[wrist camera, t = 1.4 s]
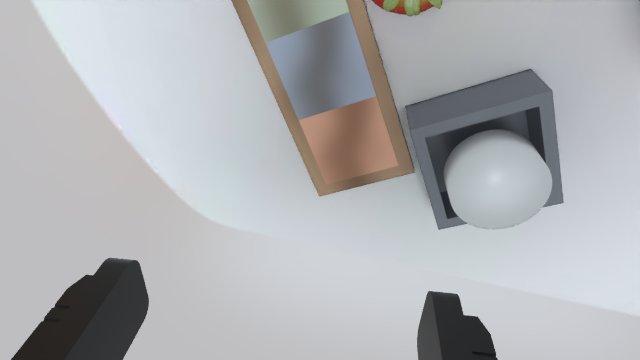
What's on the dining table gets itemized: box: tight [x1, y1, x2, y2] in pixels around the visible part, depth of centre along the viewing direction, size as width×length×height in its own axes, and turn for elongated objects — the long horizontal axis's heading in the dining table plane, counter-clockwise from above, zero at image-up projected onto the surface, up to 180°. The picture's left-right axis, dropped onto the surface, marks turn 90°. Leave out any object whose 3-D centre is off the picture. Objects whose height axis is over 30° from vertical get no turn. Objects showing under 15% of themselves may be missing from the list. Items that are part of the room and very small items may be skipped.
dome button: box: [444, 129, 552, 229], centre depth 27 cm, size 6×6×2 cm
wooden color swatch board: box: [232, 0, 414, 196], centre depth 30 cm, size 8×20×1 cm, turn 21°
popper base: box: [405, 69, 563, 230], centre depth 30 cm, size 9×9×4 cm
